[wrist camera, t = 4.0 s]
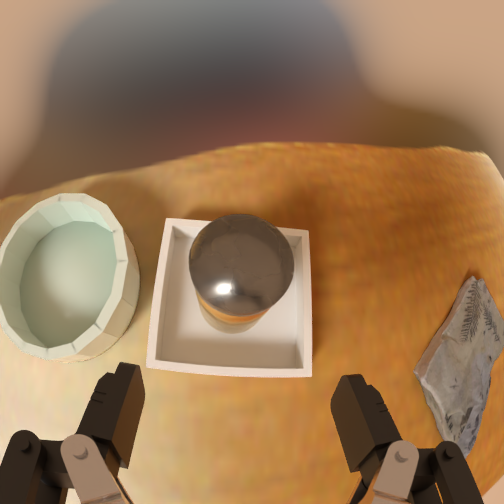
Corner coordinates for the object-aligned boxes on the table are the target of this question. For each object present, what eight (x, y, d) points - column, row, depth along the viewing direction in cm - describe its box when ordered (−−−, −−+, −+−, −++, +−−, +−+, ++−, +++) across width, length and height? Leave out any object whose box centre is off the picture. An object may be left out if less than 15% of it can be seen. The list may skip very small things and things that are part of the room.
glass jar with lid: (195, 331, 20) (182, 308, 12) (201, 267, 22) (195, 210, 14) (264, 336, 20) (294, 316, 13) (266, 272, 22) (292, 219, 15)
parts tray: (153, 367, 19) (145, 367, 17) (170, 232, 23) (166, 217, 21) (301, 376, 20) (311, 376, 18) (300, 243, 24) (308, 230, 22)
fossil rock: (463, 272, 27) (476, 265, 25) (511, 348, 23) (523, 345, 21) (393, 392, 20) (408, 392, 18) (455, 462, 17) (469, 465, 15)
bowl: (8, 342, 17) (-18, 335, 13) (38, 214, 22) (20, 193, 19) (130, 376, 18) (112, 377, 15) (152, 220, 24) (143, 195, 20)
